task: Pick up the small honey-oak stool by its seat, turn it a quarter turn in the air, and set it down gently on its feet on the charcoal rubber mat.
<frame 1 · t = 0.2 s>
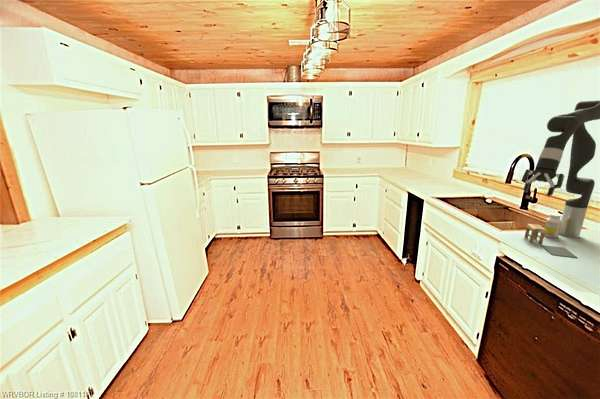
hand: (536, 194, 131), 31 cm above the counter, tool tilted 20°, fingers open, 8 cm apart
supplement bottle: (550, 236, 165), on the counter
rubber mat: (558, 251, 145), on the counter
oak stool: (533, 240, 159), on the counter
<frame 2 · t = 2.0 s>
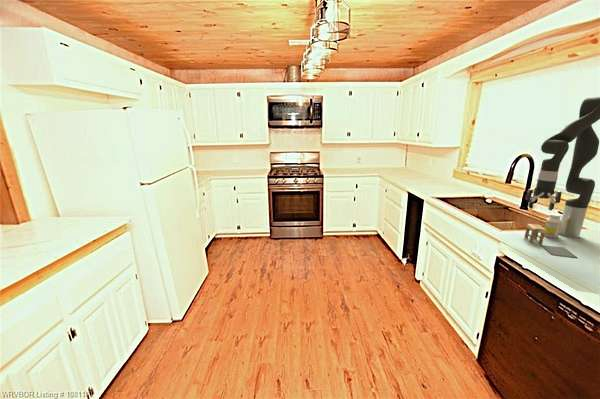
hand: (540, 209, 154), 18 cm above the counter, tool pointing down, fingers open, 8 cm apart
nothing on the counter moved.
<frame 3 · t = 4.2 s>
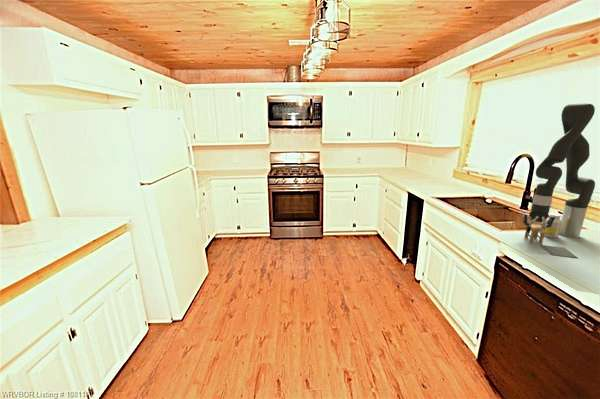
hand: (534, 233, 158), 4 cm above the counter, tool pointing down, fingers closed on oak stool, 5 cm apart
oak stool: (533, 240, 159), on the counter, touching gripper
everything else where it was.
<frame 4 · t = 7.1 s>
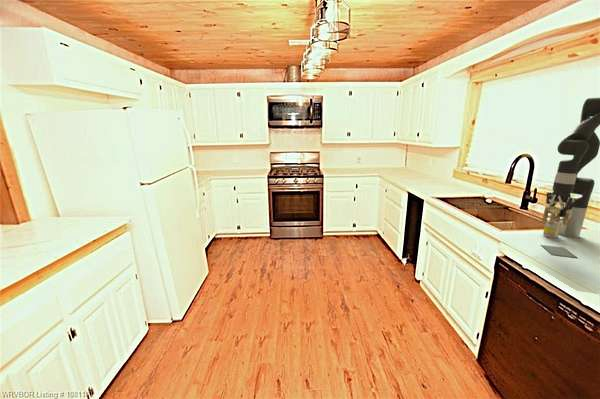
hand: (556, 214, 145), 18 cm above the counter, tool pointing down, fingers closed on oak stool, 5 cm apart
oak stool: (554, 223, 146), point 13 cm above the counter, touching gripper
everything else where it was.
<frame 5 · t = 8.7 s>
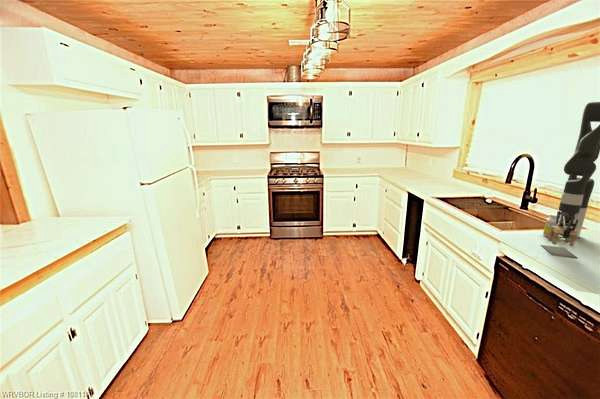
hand: (562, 235, 143), 9 cm above the counter, tool pointing down, fingers closed on oak stool, 5 cm apart
oak stool: (560, 243, 144), point 4 cm above the counter, touching gripper
everything else where it was.
when the fingers open (5 cm above the counter, at t = 10.3 s): oak stool stays where it is, resting on rubber mat.
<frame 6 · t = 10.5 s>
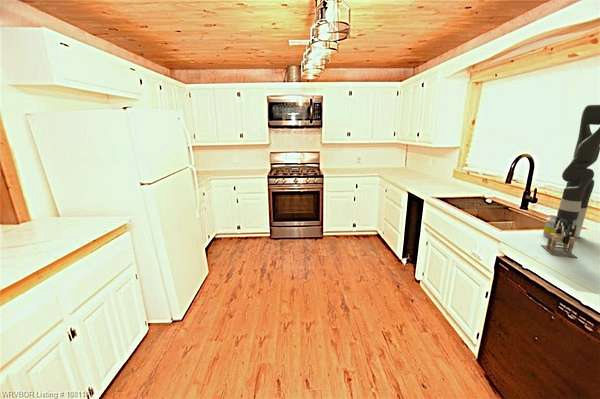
hand: (561, 240, 144), 6 cm above the counter, tool pointing down, fingers open, 7 cm apart
oak stool: (558, 250, 145), resting on rubber mat
everything else where it was.
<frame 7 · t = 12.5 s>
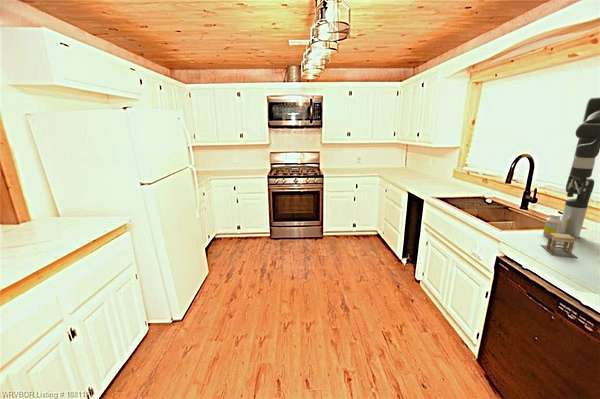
hand: (574, 199, 143), 26 cm above the counter, tool pointing down, fingers open, 8 cm apart
nothing on the counter moved.
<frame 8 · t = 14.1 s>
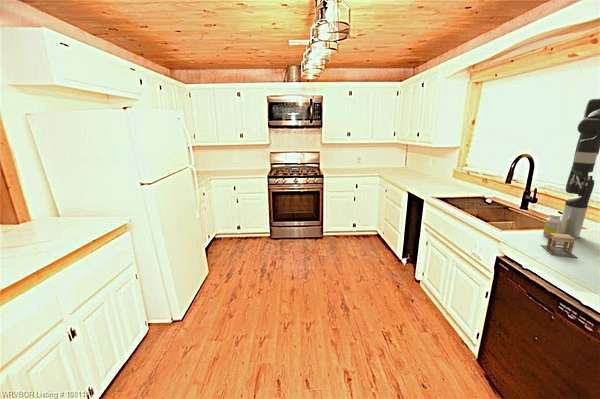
hand: (575, 194, 144), 28 cm above the counter, tool pointing down, fingers open, 8 cm apart
nothing on the counter moved.
at the end: oak stool inside the target area on the rubber mat (0.0 cm from its centre), point 0.4 cm above the rubber mat's base; oak stool tilted 0°; the gripper is holding nothing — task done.
